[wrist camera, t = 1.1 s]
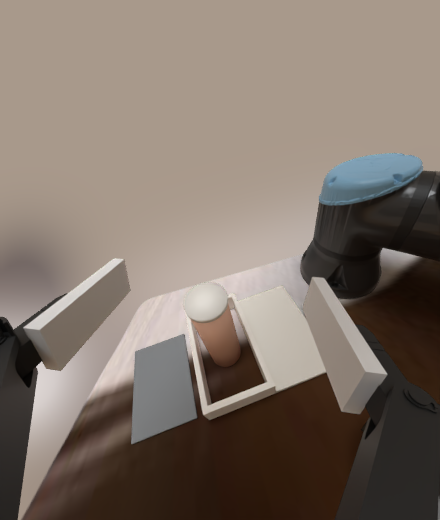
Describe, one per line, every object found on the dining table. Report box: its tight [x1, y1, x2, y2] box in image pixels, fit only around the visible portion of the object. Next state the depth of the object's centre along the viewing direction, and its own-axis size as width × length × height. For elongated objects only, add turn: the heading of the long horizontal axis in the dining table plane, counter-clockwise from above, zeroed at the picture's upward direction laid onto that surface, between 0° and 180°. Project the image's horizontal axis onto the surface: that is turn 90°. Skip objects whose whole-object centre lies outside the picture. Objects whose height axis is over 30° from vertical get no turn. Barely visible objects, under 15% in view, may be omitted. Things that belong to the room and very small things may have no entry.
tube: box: [183, 282, 241, 367], centre depth 31 cm, size 6×6×16 cm
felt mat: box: [131, 334, 198, 444], centre depth 35 cm, size 10×14×1 cm
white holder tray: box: [185, 285, 327, 420], centre depth 35 cm, size 21×18×4 cm
